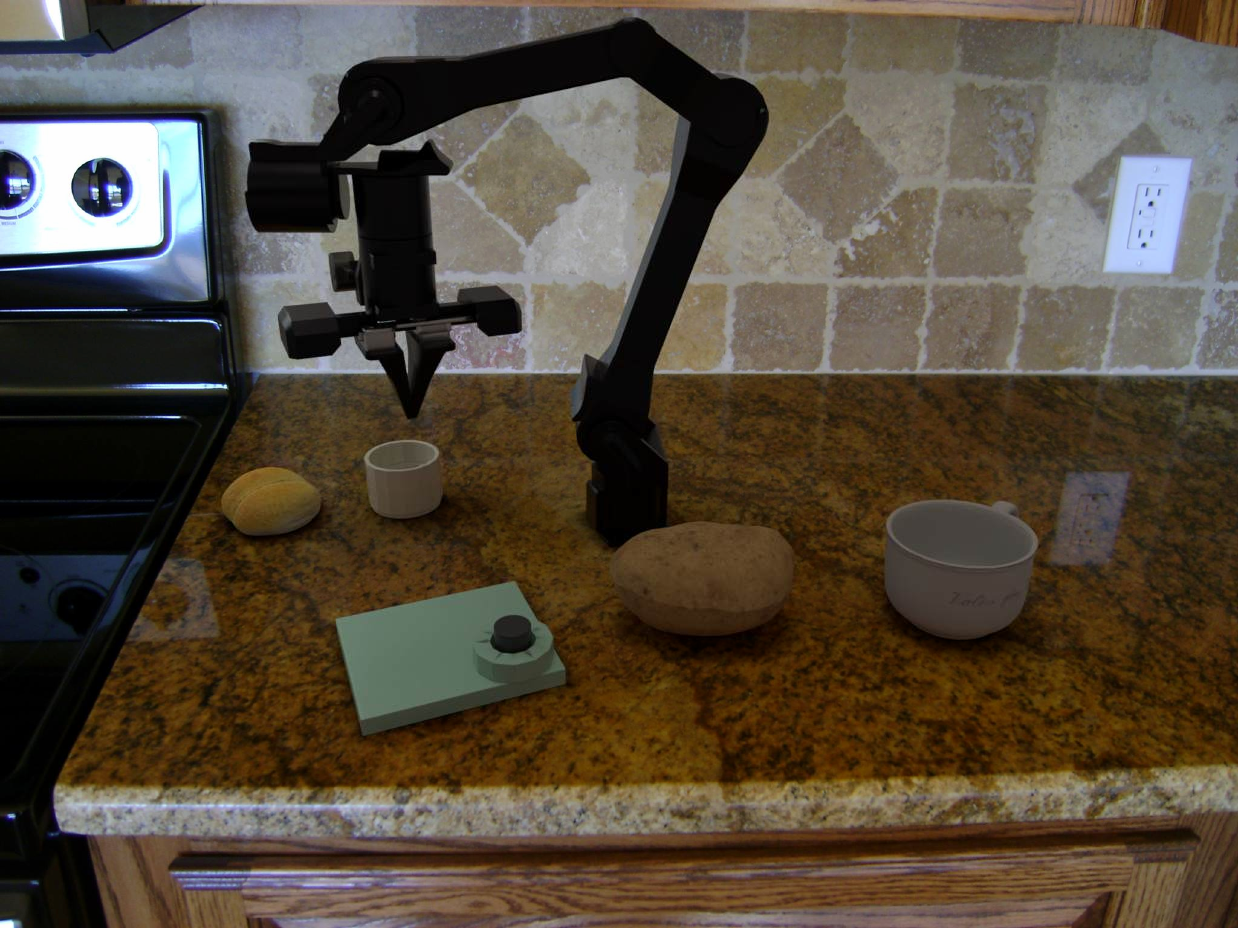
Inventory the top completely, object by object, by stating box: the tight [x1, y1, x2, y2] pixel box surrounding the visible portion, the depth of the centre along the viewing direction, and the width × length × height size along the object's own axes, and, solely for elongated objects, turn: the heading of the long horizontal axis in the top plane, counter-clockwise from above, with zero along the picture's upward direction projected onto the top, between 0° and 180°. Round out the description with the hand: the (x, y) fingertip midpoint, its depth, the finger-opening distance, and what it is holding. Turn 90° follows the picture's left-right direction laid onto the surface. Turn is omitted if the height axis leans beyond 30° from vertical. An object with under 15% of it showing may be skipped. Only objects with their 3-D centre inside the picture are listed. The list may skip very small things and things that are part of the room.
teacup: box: [883, 499, 1039, 641], centre depth 72 cm, size 14×11×8 cm
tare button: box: [493, 615, 532, 654], centre depth 65 cm, size 3×3×2 cm
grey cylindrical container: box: [363, 439, 444, 520], centre depth 88 cm, size 7×7×5 cm
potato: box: [608, 520, 796, 637], centre depth 70 cm, size 10×14×8 cm
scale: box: [335, 580, 567, 737], centre depth 67 cm, size 14×12×3 cm
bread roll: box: [221, 466, 322, 537], centre depth 86 cm, size 8×9×4 cm
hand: (410, 417), depth 79 cm, fingers closed
